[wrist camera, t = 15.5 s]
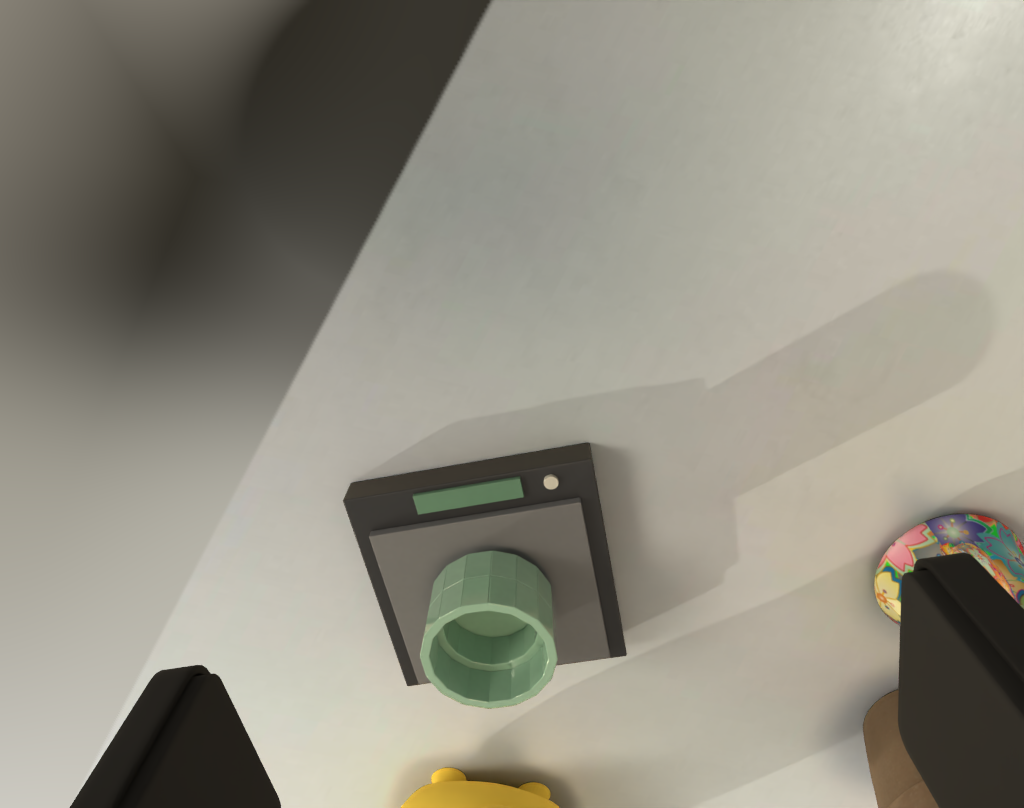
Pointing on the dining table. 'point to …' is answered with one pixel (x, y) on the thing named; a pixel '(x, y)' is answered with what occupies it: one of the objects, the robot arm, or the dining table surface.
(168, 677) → the robot arm
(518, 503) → the scale
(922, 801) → the flower pot
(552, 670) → the bowl
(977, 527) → the mug
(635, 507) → the dining table surface
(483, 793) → the teapot
